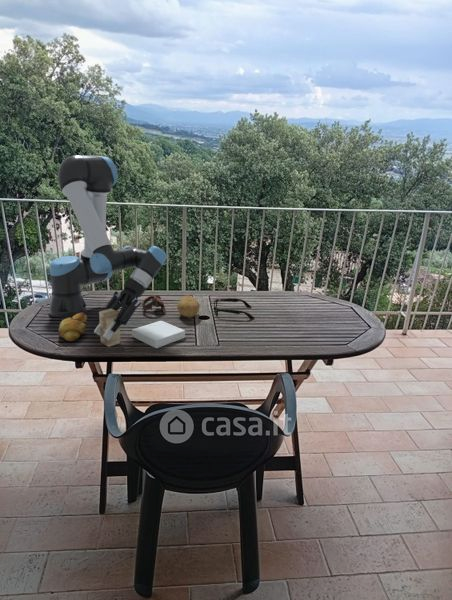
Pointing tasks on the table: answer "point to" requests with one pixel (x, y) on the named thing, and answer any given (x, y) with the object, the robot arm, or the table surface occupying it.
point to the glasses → (232, 310)
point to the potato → (188, 306)
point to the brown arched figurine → (153, 303)
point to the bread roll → (73, 327)
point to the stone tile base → (158, 334)
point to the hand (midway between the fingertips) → (101, 335)
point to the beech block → (105, 322)
